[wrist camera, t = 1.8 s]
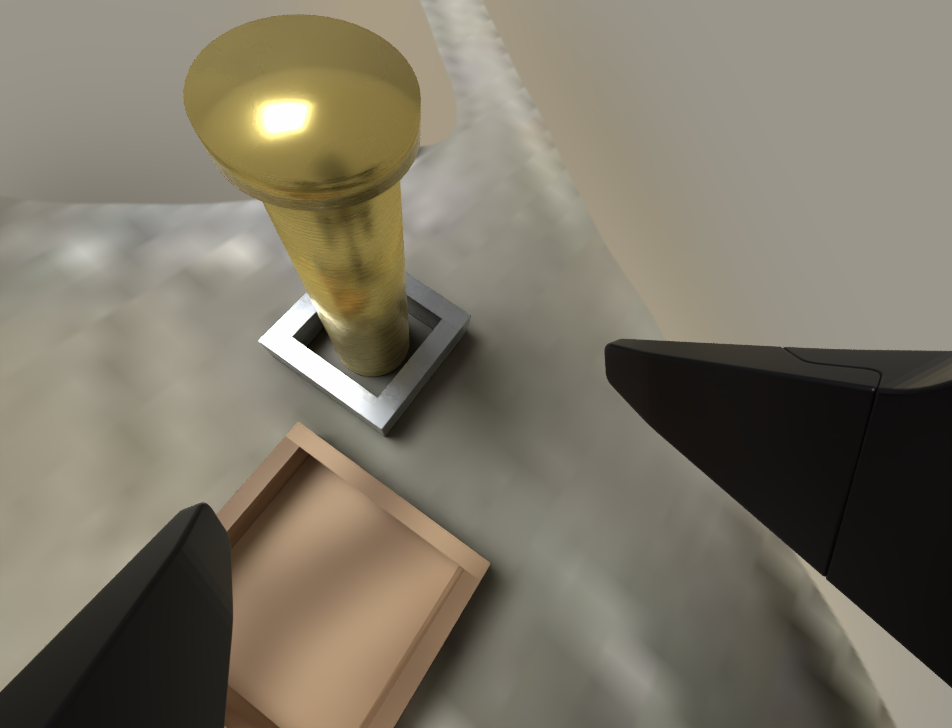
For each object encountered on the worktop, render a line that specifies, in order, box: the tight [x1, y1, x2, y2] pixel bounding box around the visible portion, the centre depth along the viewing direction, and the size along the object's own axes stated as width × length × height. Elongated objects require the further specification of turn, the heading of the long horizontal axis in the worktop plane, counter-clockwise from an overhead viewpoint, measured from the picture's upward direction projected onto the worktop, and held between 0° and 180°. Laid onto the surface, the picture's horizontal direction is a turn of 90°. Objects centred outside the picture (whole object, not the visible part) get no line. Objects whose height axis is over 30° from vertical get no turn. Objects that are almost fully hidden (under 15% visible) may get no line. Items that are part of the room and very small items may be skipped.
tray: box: [216, 422, 491, 728], centre depth 18 cm, size 10×10×3 cm
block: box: [258, 272, 471, 437], centre depth 23 cm, size 8×8×2 cm
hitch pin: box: [184, 15, 421, 376], centre depth 17 cm, size 5×5×15 cm
